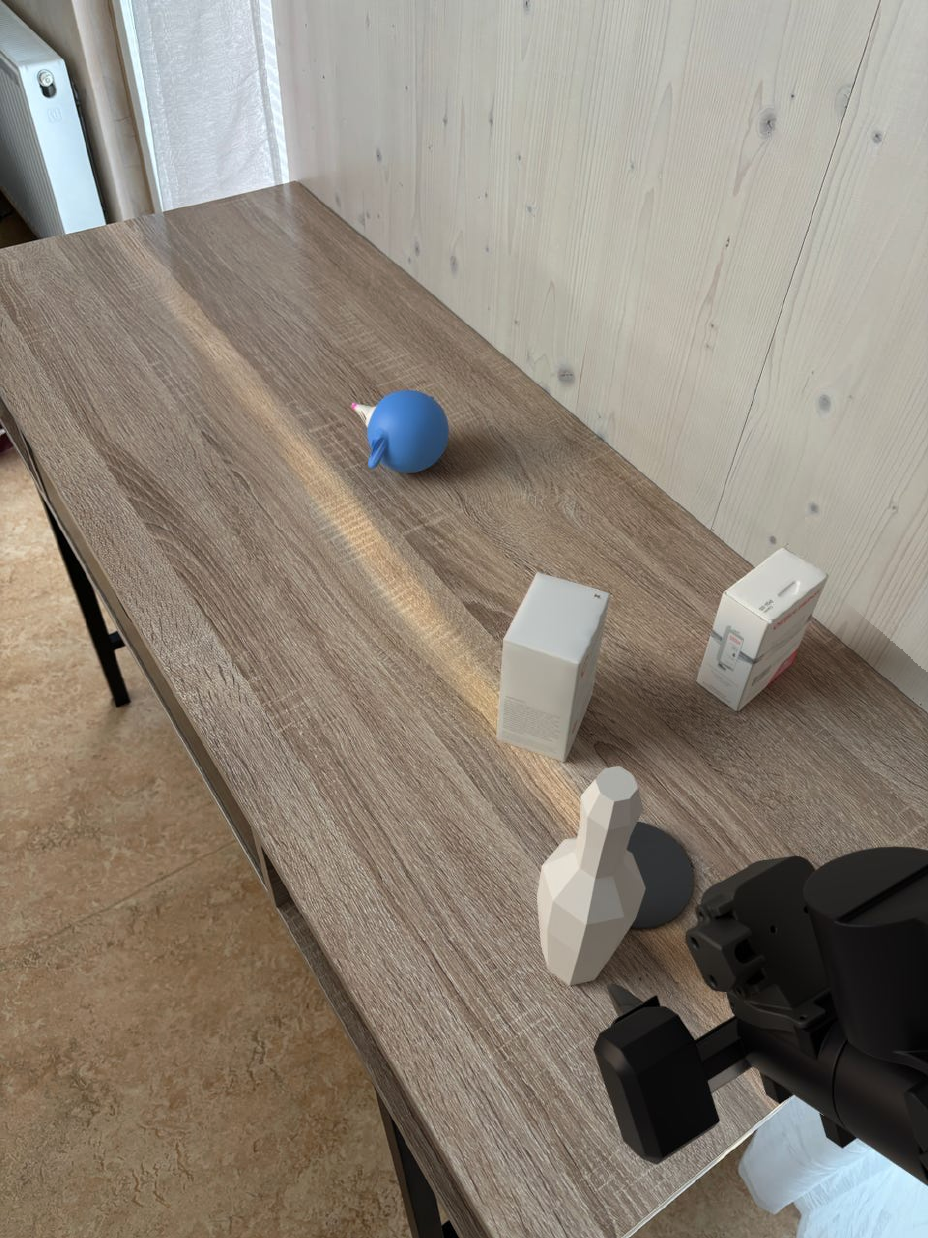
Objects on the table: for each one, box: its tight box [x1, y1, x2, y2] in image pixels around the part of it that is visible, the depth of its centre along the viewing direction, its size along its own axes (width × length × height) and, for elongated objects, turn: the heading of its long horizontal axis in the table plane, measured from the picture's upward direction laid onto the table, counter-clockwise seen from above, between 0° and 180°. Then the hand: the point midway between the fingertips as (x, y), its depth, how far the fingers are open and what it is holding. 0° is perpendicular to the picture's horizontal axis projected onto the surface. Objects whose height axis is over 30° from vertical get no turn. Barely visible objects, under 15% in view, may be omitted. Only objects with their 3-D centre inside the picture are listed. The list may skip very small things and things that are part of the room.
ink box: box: [696, 547, 830, 712], centre depth 87 cm, size 9×5×12 cm, turn 133°
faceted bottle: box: [536, 765, 646, 987], centre depth 65 cm, size 6×6×22 cm
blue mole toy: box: [350, 389, 450, 474], centre depth 108 cm, size 12×12×8 cm
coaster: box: [627, 820, 695, 931], centre depth 77 cm, size 9×9×1 cm
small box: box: [495, 571, 611, 763], centre depth 82 cm, size 8×6×13 cm
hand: (676, 953), depth 58 cm, fingers open, 9 cm apart
